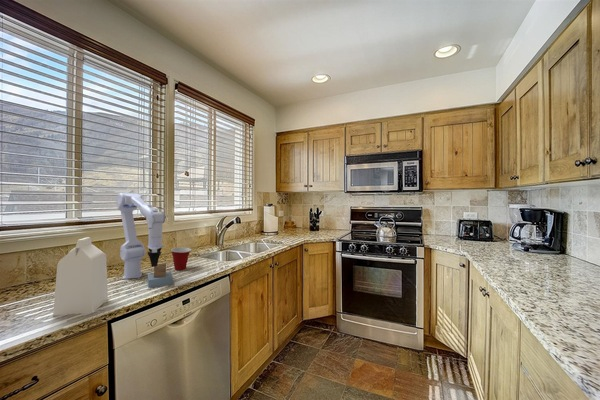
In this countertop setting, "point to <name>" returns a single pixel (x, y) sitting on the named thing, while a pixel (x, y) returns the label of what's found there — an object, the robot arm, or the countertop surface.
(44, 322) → the countertop surface
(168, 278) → the slate block
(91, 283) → the milk
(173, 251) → the plastic cup
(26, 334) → the countertop surface
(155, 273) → the walnut cube
